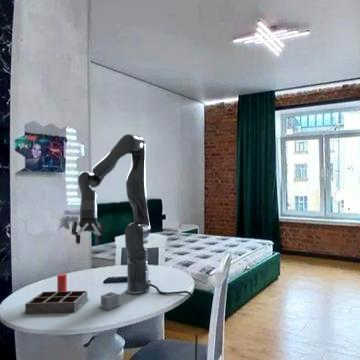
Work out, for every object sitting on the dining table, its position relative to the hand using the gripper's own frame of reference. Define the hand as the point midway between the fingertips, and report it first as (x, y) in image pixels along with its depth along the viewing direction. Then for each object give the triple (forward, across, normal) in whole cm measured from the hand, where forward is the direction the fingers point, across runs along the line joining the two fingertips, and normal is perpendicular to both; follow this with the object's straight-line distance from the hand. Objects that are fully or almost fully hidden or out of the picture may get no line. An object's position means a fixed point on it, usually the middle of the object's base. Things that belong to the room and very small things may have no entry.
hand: (87, 243), depth 147 cm
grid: (+26, -11, +1) cm, 29 cm away
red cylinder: (+21, -6, +14) cm, 26 cm away
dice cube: (+30, +4, -15) cm, 33 cm away
